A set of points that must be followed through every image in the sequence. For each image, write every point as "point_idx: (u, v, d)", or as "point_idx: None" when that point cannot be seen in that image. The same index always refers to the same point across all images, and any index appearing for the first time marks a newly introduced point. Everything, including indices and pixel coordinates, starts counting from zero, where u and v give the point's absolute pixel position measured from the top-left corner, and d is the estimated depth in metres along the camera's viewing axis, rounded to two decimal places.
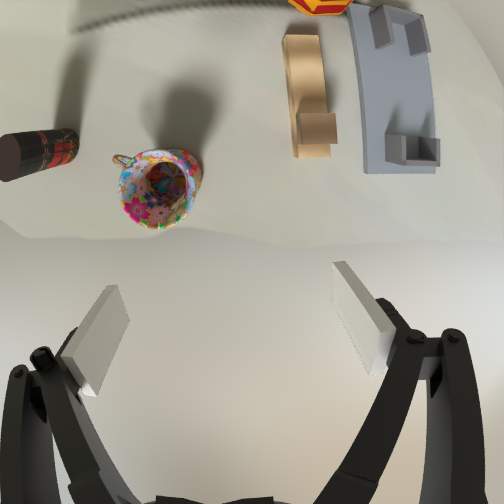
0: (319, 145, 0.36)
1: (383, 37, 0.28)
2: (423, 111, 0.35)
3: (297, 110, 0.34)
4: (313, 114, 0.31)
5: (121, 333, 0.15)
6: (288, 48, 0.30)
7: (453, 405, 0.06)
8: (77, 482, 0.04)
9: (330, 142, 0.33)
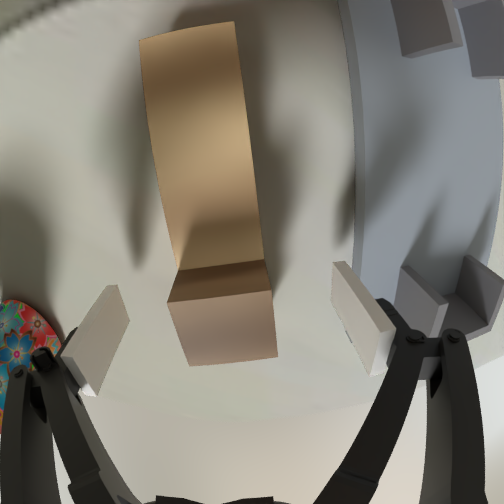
0: None
1: (427, 27, 0.09)
2: (482, 203, 0.16)
3: (181, 258, 0.14)
4: (204, 302, 0.12)
5: (121, 333, 0.15)
6: (144, 79, 0.11)
7: (453, 405, 0.06)
8: (77, 482, 0.04)
9: (258, 357, 0.13)
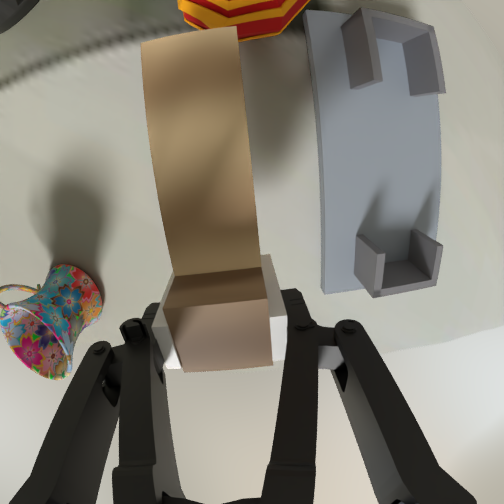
0: None
1: (362, 69, 0.18)
2: (423, 189, 0.25)
3: (178, 264, 0.14)
4: (199, 309, 0.12)
5: None
6: (145, 83, 0.11)
7: (369, 396, 0.07)
8: (125, 469, 0.05)
9: (253, 365, 0.13)
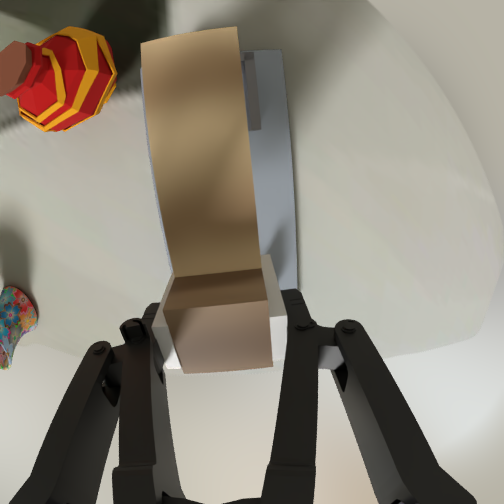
0: None
1: None
2: (270, 225, 0.29)
3: (178, 265, 0.14)
4: (200, 310, 0.12)
5: None
6: (145, 83, 0.11)
7: (369, 396, 0.07)
8: (125, 469, 0.05)
9: (254, 366, 0.13)
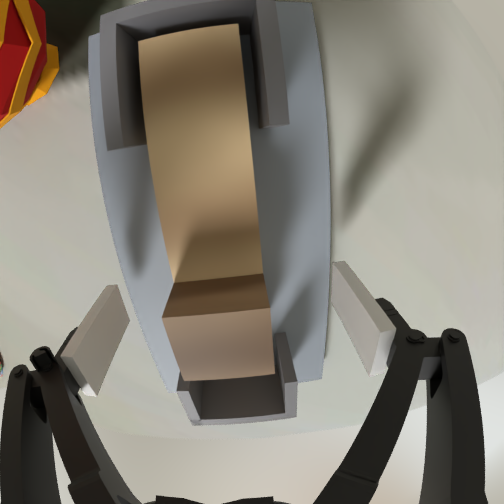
0: None
1: None
2: (291, 280, 0.19)
3: (177, 270, 0.14)
4: (200, 318, 0.11)
5: (121, 333, 0.15)
6: (143, 83, 0.10)
7: (453, 405, 0.06)
8: (77, 482, 0.04)
9: (255, 374, 0.13)
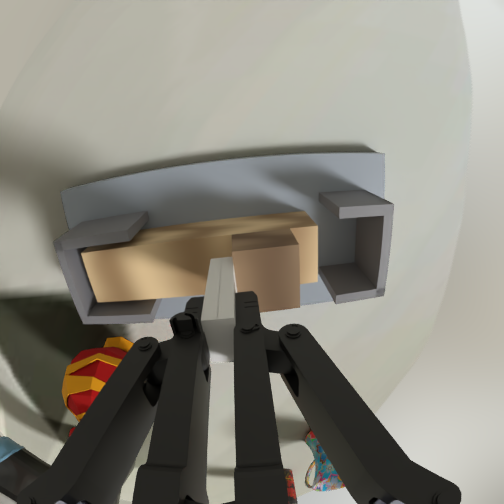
0: None
1: None
2: (265, 189, 0.22)
3: None
4: None
5: None
6: (119, 299, 0.21)
7: (323, 401, 0.08)
8: (152, 468, 0.05)
9: (296, 259, 0.17)
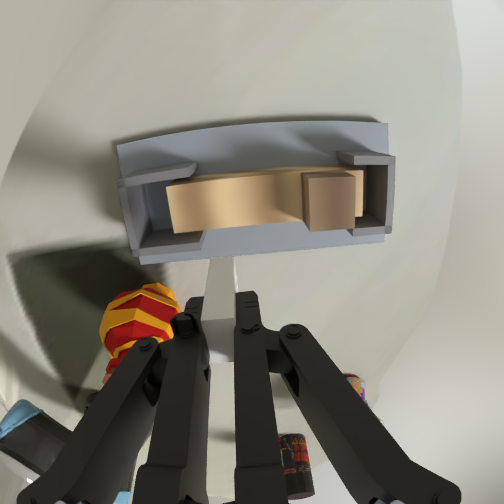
0: None
1: None
2: (294, 146, 0.27)
3: (295, 217, 0.26)
4: (311, 213, 0.23)
5: None
6: (197, 229, 0.26)
7: (324, 400, 0.08)
8: (152, 468, 0.05)
9: (353, 187, 0.22)
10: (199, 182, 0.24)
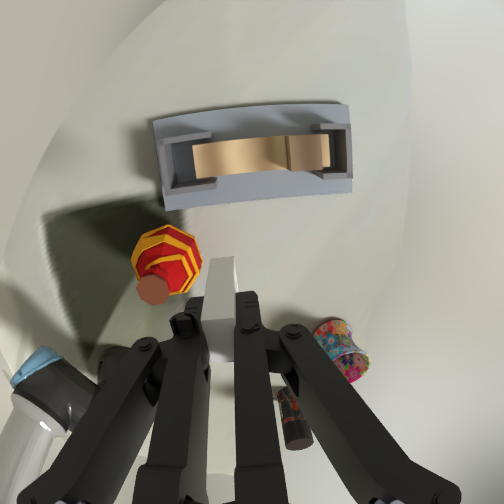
0: None
1: None
2: (280, 121, 0.37)
3: (282, 166, 0.36)
4: (292, 158, 0.33)
5: None
6: (213, 175, 0.36)
7: (324, 401, 0.08)
8: (152, 468, 0.05)
9: (319, 142, 0.32)
10: (215, 142, 0.34)
